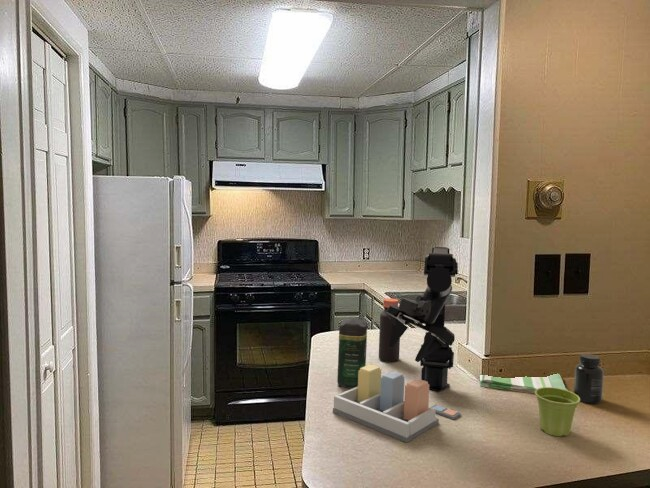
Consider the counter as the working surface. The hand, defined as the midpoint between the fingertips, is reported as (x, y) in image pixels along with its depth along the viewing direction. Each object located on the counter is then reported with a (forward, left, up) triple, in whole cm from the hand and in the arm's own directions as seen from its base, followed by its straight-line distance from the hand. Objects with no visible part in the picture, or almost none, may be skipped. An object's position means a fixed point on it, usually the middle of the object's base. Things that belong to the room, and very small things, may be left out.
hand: (402, 354), depth 122 cm
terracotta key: (-6, +3, -13) cm, 15 cm away
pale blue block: (+1, +3, -13) cm, 14 cm away
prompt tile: (-8, -7, -15) cm, 18 cm away
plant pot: (-31, -17, -15) cm, 39 cm away
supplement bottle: (-31, -43, -15) cm, 55 cm away
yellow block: (+8, +3, -13) cm, 16 cm away
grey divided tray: (+1, +6, -15) cm, 16 cm away
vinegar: (+26, -31, -15) cm, 43 cm away
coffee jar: (+21, -6, -15) cm, 26 cm away
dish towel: (-13, -43, -15) cm, 48 cm away
